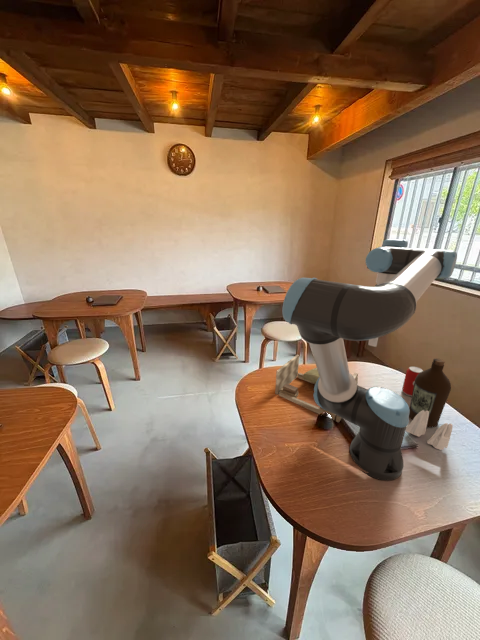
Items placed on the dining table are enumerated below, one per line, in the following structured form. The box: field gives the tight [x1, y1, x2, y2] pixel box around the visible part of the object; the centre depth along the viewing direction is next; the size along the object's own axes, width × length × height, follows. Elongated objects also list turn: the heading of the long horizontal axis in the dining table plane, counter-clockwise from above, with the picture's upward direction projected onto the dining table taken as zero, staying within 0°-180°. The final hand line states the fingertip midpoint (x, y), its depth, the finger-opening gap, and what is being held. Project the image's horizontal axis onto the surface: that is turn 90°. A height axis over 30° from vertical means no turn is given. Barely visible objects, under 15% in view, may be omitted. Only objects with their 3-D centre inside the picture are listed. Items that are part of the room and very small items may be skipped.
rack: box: [274, 354, 359, 423], centre depth 112 cm, size 19×27×12 cm
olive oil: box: [409, 357, 452, 428], centre depth 96 cm, size 11×11×25 cm
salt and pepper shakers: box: [405, 410, 453, 451], centre depth 89 cm, size 12×4×11 cm, turn 45°
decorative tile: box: [303, 367, 359, 385], centre depth 120 cm, size 19×6×20 cm
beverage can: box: [401, 366, 424, 398], centre depth 114 cm, size 6×6×12 cm
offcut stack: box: [281, 383, 300, 398], centre depth 114 cm, size 3×7×4 cm, turn 52°
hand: (376, 339), depth 101 cm, fingers open, 13 cm apart
